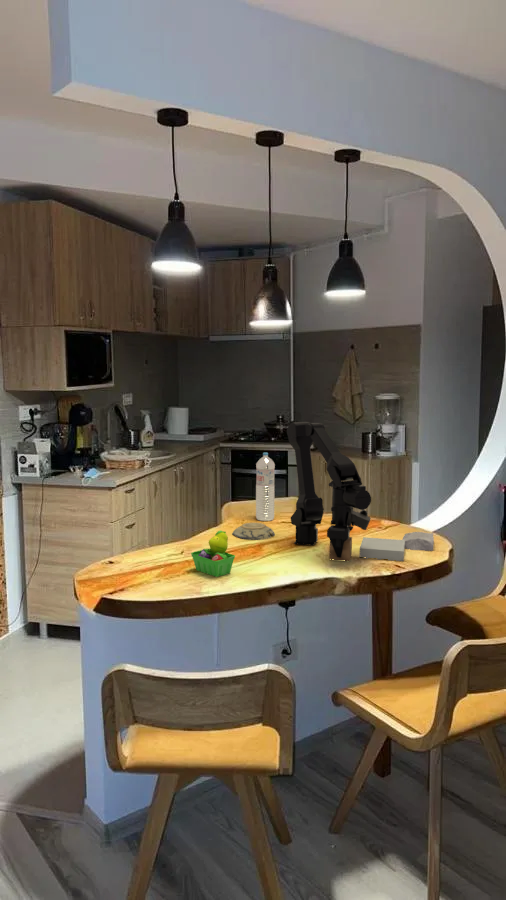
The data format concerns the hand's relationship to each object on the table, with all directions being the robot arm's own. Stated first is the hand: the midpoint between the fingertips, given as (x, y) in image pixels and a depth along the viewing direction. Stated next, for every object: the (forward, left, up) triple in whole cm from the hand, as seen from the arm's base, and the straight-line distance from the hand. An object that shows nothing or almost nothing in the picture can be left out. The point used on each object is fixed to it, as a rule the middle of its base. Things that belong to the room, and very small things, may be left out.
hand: (340, 553), depth 208 cm
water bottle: (-33, +42, -2) cm, 53 cm away
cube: (0, 0, -1) cm, 1 cm away
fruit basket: (-33, -22, -2) cm, 40 cm away
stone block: (+22, +21, -2) cm, 30 cm away
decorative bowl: (-32, +20, -2) cm, 38 cm away
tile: (+12, +8, -1) cm, 14 cm away
